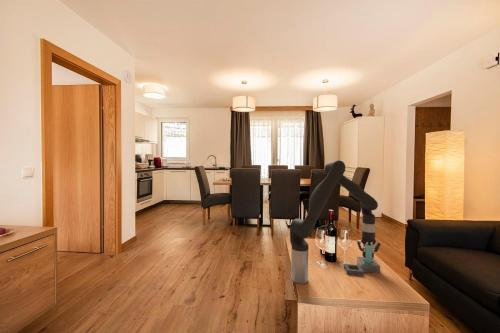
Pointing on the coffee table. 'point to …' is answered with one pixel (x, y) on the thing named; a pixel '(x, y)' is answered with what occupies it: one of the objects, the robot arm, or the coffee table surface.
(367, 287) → the coffee table surface
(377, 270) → the port block
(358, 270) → the dark grey shallow dish
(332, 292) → the coffee table surface
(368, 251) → the plug
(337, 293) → the coffee table surface
